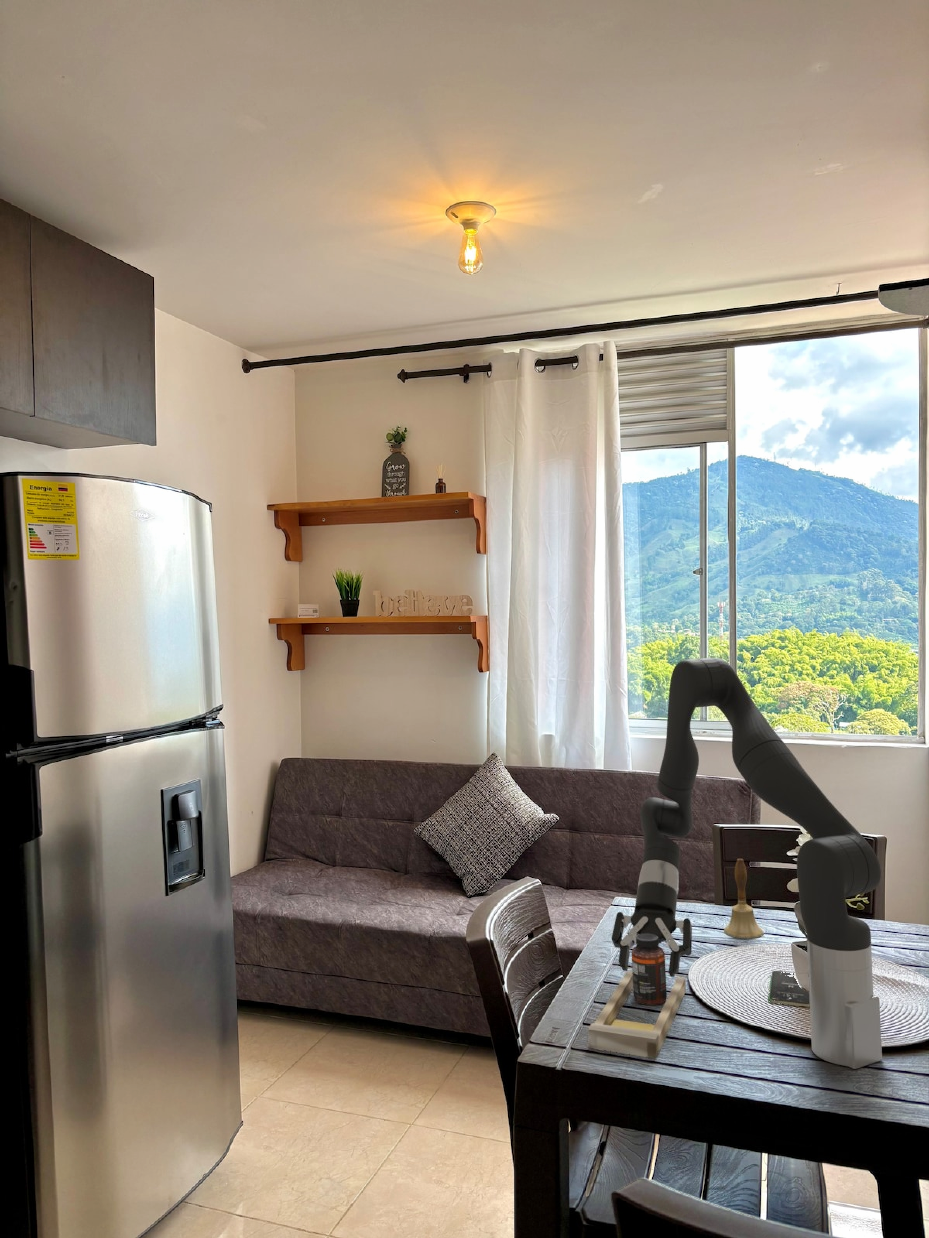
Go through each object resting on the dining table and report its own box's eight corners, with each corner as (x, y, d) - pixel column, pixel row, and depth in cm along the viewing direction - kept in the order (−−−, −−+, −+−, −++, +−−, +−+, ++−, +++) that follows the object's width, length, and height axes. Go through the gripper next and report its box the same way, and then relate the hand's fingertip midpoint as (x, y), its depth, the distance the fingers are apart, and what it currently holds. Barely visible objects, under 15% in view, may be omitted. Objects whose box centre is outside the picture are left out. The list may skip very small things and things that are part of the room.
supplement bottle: (664, 993, 160) (662, 931, 161) (669, 1006, 154) (666, 942, 155) (631, 992, 161) (629, 931, 161) (634, 1006, 155) (632, 942, 155)
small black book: (813, 973, 166) (813, 1004, 152) (813, 978, 166) (813, 1010, 152) (771, 969, 169) (767, 999, 155) (771, 974, 169) (767, 1004, 155)
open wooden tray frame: (627, 983, 165) (627, 967, 166) (685, 990, 161) (685, 974, 161) (588, 1047, 140) (588, 1029, 140) (656, 1058, 135) (655, 1039, 136)
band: (614, 1021, 149) (614, 1018, 149) (659, 1027, 146) (659, 1025, 146) (607, 1033, 145) (607, 1031, 145) (653, 1040, 142) (653, 1038, 142)
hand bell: (716, 931, 193) (713, 858, 194) (740, 923, 198) (737, 853, 198) (746, 941, 186) (743, 866, 187) (771, 933, 191) (768, 859, 191)
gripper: (617, 877, 168) (604, 957, 157) (692, 882, 163) (685, 966, 152) (624, 897, 173) (612, 976, 162) (698, 903, 167) (691, 986, 156)
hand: (647, 971), depth 157 cm, fingers open, 8 cm apart
